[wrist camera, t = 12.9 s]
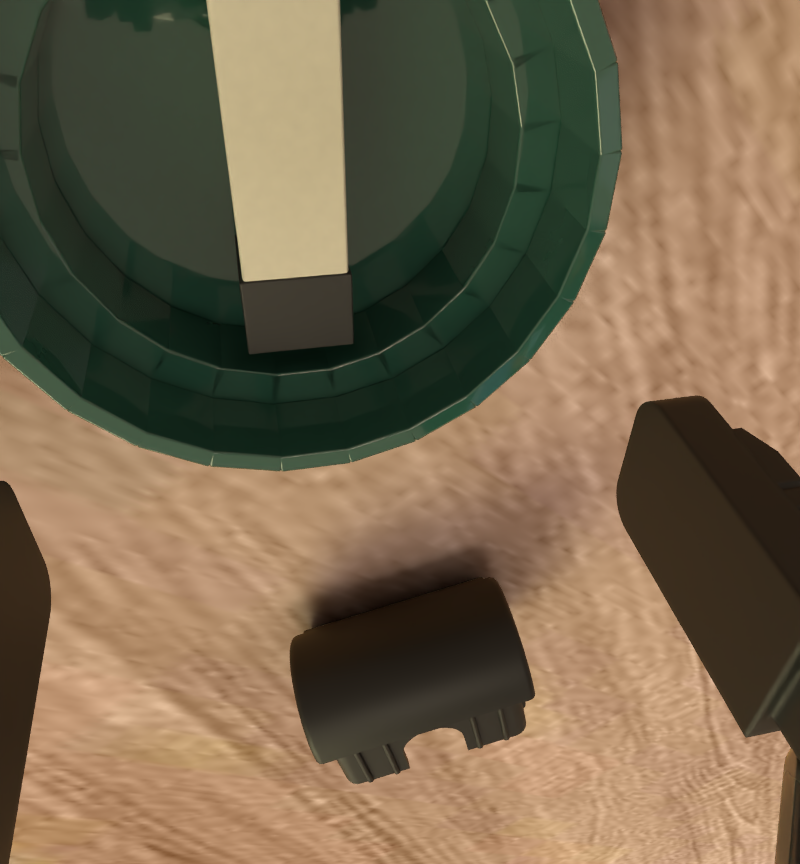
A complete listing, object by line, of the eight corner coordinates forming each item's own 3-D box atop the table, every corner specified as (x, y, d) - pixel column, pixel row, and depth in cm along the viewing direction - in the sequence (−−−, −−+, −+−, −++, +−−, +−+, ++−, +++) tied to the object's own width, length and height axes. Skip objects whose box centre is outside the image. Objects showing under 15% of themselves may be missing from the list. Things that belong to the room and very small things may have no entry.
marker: (193, -72, 19) (194, -52, 16) (324, -74, 19) (343, -55, 17) (243, 302, 25) (248, 355, 23) (339, 293, 26) (354, 344, 23)
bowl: (-142, -238, 16) (-271, -252, 12) (577, -220, 19) (698, -226, 14) (61, 383, 27) (35, 503, 22) (508, 337, 29) (566, 436, 25)
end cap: (483, 539, 36) (530, 660, 31) (500, 623, 41) (544, 740, 36) (281, 600, 36) (296, 732, 31) (321, 678, 41) (340, 803, 36)
